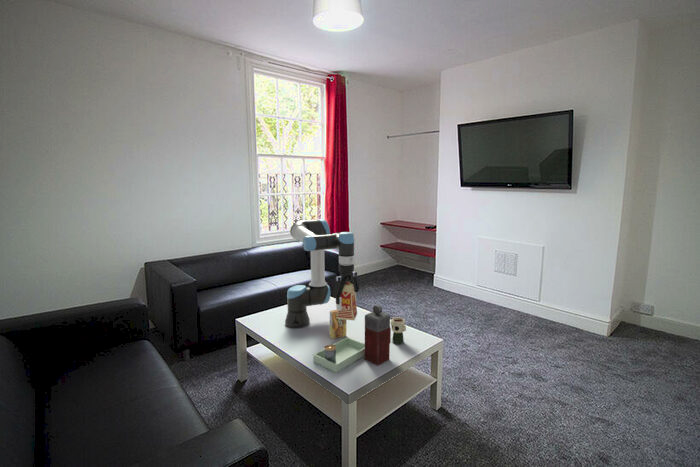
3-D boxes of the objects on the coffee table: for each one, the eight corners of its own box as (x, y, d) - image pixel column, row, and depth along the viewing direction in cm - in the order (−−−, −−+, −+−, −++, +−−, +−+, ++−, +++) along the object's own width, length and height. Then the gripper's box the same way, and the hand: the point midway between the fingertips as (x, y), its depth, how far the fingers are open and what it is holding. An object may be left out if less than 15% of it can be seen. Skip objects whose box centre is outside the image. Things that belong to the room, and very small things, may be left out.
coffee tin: (322, 363, 166) (322, 347, 165) (330, 358, 171) (330, 343, 169) (330, 367, 163) (330, 351, 162) (338, 362, 167) (338, 346, 166)
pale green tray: (313, 362, 169) (313, 354, 168) (347, 344, 187) (347, 337, 187) (336, 373, 159) (336, 364, 158) (369, 352, 178) (369, 345, 177)
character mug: (386, 340, 192) (386, 318, 190) (395, 337, 196) (395, 315, 194) (400, 347, 183) (401, 324, 181) (409, 343, 188) (410, 321, 186)
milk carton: (354, 320, 168) (354, 280, 165) (335, 319, 170) (335, 279, 167) (357, 313, 177) (357, 275, 174) (340, 312, 178) (339, 274, 175)
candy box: (343, 333, 201) (343, 308, 199) (346, 336, 197) (346, 310, 195) (329, 336, 197) (329, 310, 195) (332, 339, 193) (332, 313, 191)
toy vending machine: (392, 357, 173) (393, 304, 169) (377, 365, 165) (378, 310, 161) (379, 351, 179) (379, 299, 175) (364, 359, 171) (364, 305, 167)
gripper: (335, 269, 158) (336, 315, 161) (366, 260, 175) (366, 302, 178) (324, 266, 163) (324, 311, 166) (355, 258, 180) (355, 299, 183)
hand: (346, 306), depth 172 cm, fingers closed on milk carton, 10 cm apart
